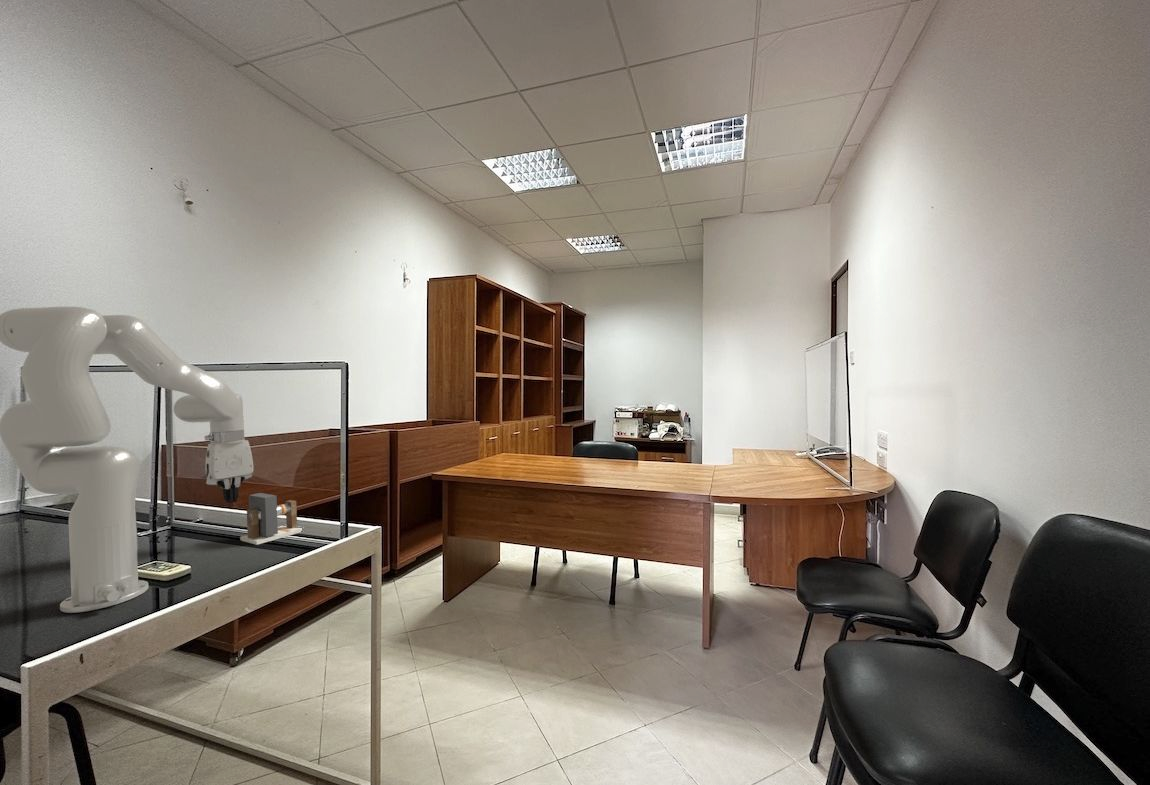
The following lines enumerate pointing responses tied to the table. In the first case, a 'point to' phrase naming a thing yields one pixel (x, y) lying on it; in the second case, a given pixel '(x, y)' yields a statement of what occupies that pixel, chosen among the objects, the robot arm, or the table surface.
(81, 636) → the table surface
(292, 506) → the pipe stand
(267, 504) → the upright gray rectangular block
